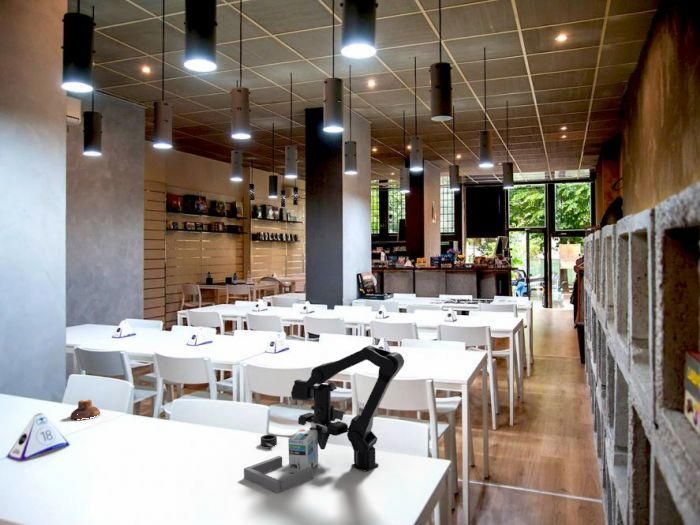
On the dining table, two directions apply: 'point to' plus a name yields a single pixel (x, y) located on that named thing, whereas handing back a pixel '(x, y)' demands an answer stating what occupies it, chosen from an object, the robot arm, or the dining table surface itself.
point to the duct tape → (268, 440)
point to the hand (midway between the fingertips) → (322, 449)
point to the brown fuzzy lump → (85, 410)
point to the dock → (257, 476)
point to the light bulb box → (303, 450)
